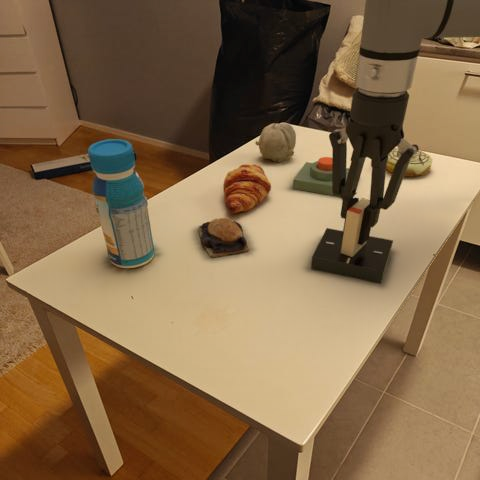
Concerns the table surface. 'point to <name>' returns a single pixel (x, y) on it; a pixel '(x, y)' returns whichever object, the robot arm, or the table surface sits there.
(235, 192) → the croissant
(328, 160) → the button
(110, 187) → the beverage bottle
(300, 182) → the button housing
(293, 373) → the table surface
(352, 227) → the knob
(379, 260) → the dial panel
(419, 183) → the table surface
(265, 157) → the grey rounded lump
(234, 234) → the chocolate dessert
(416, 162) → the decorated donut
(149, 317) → the table surface
